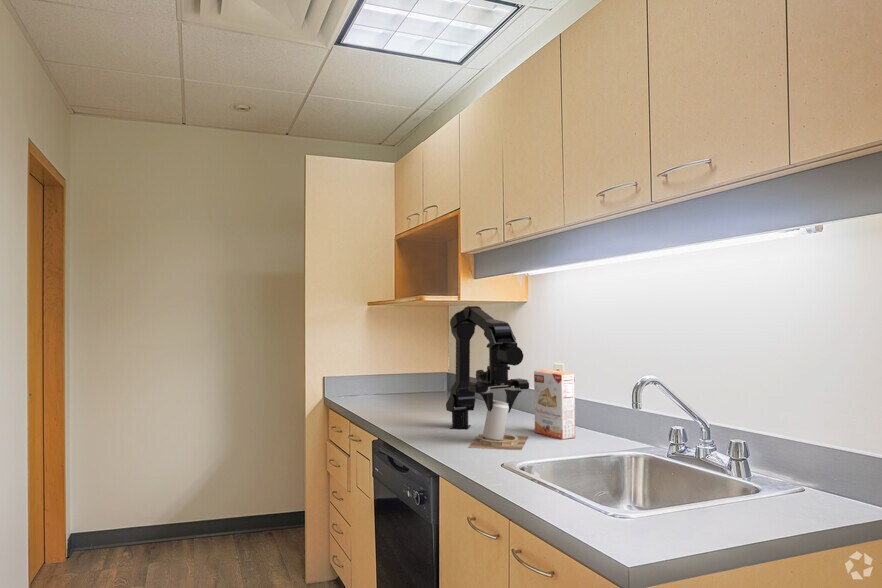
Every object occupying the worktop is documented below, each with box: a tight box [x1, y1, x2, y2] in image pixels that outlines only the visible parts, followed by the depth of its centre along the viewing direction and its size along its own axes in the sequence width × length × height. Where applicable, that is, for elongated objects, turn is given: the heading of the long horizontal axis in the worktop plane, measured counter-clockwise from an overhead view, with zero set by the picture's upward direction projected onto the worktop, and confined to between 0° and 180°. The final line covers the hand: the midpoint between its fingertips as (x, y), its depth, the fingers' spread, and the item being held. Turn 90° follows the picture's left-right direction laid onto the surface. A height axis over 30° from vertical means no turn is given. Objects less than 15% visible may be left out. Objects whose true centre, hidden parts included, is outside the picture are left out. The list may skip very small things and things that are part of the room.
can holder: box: [467, 433, 529, 451], centre depth 201 cm, size 20×16×2 cm
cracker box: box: [533, 369, 576, 441], centre depth 211 cm, size 14×6×21 cm, turn 30°
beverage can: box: [482, 399, 509, 441], centre depth 201 cm, size 6×6×12 cm
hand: (499, 413), depth 201 cm, fingers closed on beverage can, 6 cm apart
